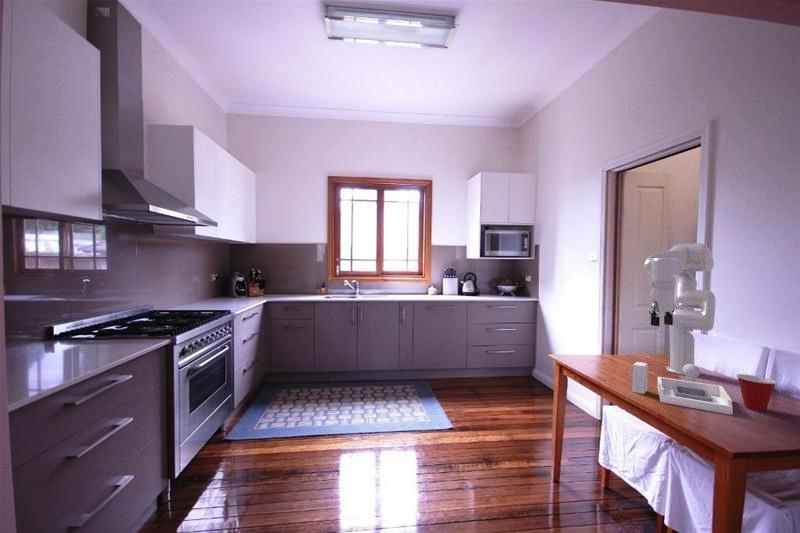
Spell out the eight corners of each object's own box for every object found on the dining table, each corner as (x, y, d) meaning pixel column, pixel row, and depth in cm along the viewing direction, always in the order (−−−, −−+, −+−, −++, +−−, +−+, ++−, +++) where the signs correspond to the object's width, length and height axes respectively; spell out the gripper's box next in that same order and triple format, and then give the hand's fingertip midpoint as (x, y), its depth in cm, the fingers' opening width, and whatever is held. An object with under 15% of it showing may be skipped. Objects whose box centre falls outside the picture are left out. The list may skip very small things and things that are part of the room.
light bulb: (703, 389, 149) (703, 366, 149) (687, 388, 150) (687, 365, 150) (694, 384, 155) (694, 362, 154) (679, 383, 156) (679, 362, 156)
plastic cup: (780, 410, 128) (780, 378, 128) (772, 417, 122) (772, 384, 122) (740, 400, 137) (740, 370, 137) (731, 406, 131) (731, 375, 131)
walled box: (657, 387, 151) (657, 376, 151) (721, 398, 139) (721, 386, 139) (660, 402, 136) (660, 389, 136) (732, 415, 124) (732, 401, 124)
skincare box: (635, 388, 151) (635, 361, 151) (648, 390, 148) (647, 363, 148) (632, 392, 147) (632, 364, 147) (644, 394, 144) (644, 366, 143)
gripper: (664, 285, 155) (663, 323, 155) (640, 285, 148) (640, 324, 148) (683, 286, 149) (683, 325, 148) (660, 286, 142) (659, 327, 141)
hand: (661, 325), depth 148 cm, fingers open, 9 cm apart
